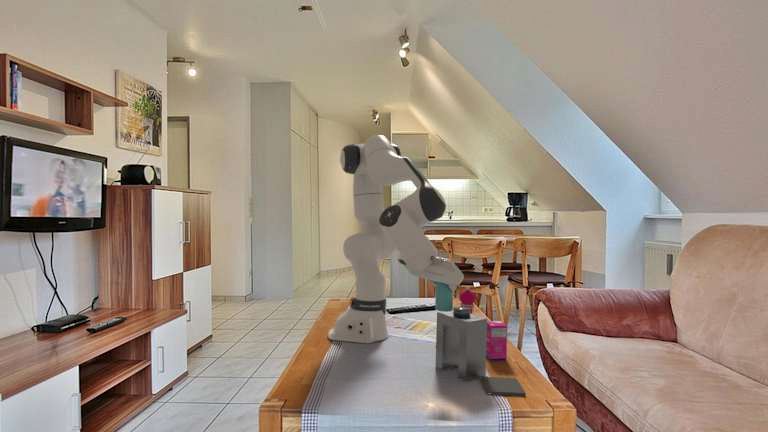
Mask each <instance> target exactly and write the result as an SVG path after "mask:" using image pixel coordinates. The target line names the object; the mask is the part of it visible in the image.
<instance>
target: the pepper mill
mask: <svg viewBox="0 0 768 432" xmlns="http://www.w3.org/2000/svg"><path fill="white" fill-rule="evenodd" d="M458 297H459V301H460V306H459V307H467V308H470V313H471V314H473V310H474V308H475V301H476V297H477V296H476V293H475V292H474V291H472V290H471V287H470V286H469V285H468V286H465V289H464V290H462V291H461V292H460V293H459V296H458Z"/></svg>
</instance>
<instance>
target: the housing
mask: <svg viewBox="0 0 768 432" xmlns="http://www.w3.org/2000/svg"><path fill="white" fill-rule="evenodd" d="M487 321H488V318H486V317H483V316H481V315H477V314H474V313H472V314H471V313H470V308H467V307H460V306H453V310H452V311H448V312H443V311H436V336H435V337H436V339H435V341H436V342H435V368H436V367H437V369H438V368H439V370H440V371H445V370H448V368H449V369H452V368H451V367H453V368H456V367H458V374H457V375H458V376H457V377H458V379H460V380H461V379H462V380H461V381H463V380H464V381H463V382H465V381H467V382H470V381H473V379H474V380H477V379H480V378H479V377H487V376H486V372H487V371H486V369H487V356H486V345H487ZM476 378H477V379H476Z"/></svg>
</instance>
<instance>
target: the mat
mask: <svg viewBox="0 0 768 432" xmlns="http://www.w3.org/2000/svg"><path fill="white" fill-rule="evenodd" d="M481 380H482V381H481ZM480 381H481V383H482V385H483V388H484V387H485V388H484V390H485V389H486V390H485V392H486V391H487V392H486V394H487V393H491V394H490V395H492V394H500V396H516V397H517V396H519V397H526V391H525V390H524V388H523V387H522V385H521V383H520V382H519V380H518V379H517V378H516V377H502V376H501V377H500V376H484V377H481V378H480Z"/></svg>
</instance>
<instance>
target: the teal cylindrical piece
mask: <svg viewBox="0 0 768 432" xmlns="http://www.w3.org/2000/svg"><path fill="white" fill-rule="evenodd" d="M453 301H454V291H450V290H449V289H448V285H447V284H445V283H441V282H437V281H436V287H435V301H434V303H435V304H434V308H435V310H436V311H437V312H440V311H443V312H448V311H452V310H453V308H454V304H453V303H454V302H453Z"/></svg>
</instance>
